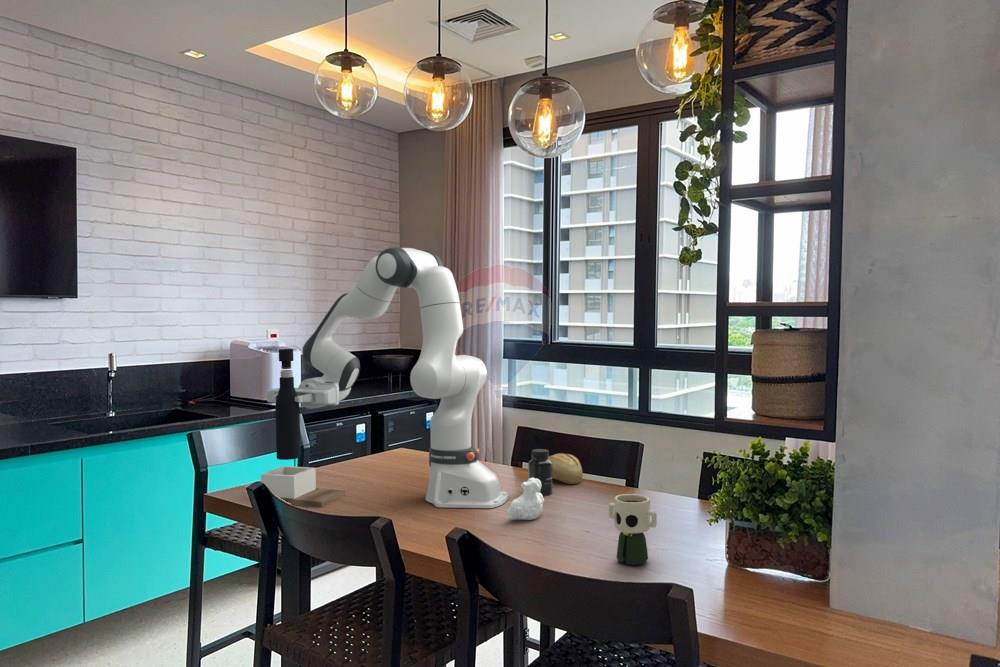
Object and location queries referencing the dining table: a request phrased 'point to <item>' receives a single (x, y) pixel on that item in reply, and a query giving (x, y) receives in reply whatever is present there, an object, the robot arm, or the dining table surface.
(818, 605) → the dining table surface
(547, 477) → the supplement bottle
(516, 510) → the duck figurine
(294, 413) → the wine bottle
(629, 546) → the character mug
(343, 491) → the bottle stand
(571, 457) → the bread roll
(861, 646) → the dining table surface
